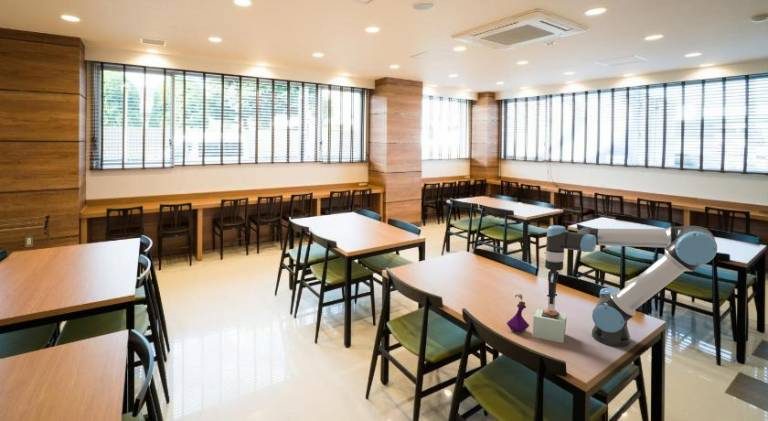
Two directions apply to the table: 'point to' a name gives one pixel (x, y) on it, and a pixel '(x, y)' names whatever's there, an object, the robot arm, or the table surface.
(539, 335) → the socket block
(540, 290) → the table surface
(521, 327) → the perfume bottle
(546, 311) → the peg
